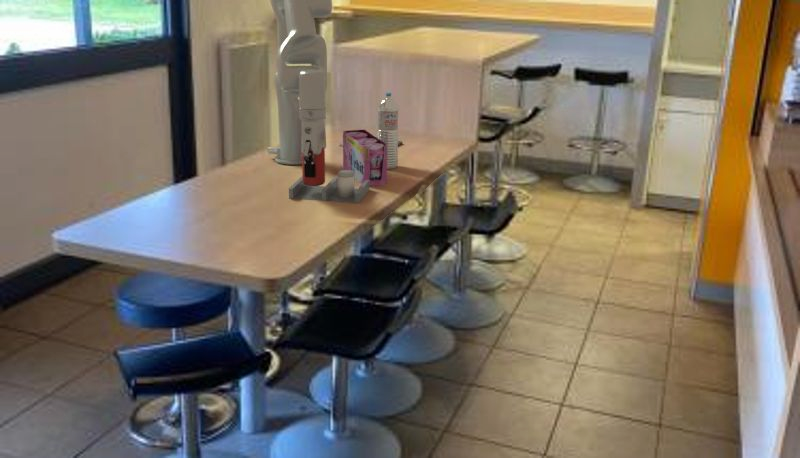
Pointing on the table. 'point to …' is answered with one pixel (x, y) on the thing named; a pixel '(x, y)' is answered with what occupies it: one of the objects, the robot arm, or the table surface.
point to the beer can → (319, 170)
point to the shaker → (346, 183)
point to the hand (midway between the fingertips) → (313, 173)
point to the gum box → (365, 156)
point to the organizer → (325, 192)
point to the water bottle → (389, 128)
